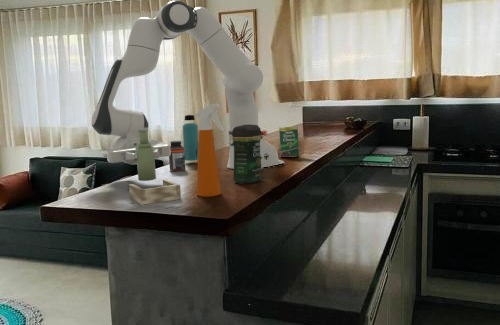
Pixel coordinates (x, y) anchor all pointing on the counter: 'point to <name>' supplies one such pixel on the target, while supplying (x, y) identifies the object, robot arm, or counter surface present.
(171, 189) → the u rest
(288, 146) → the coffee box
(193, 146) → the beverage bottle
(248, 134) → the coffee jar
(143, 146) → the bottle
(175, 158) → the supplement bottle
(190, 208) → the counter surface
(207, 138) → the spray bottle
